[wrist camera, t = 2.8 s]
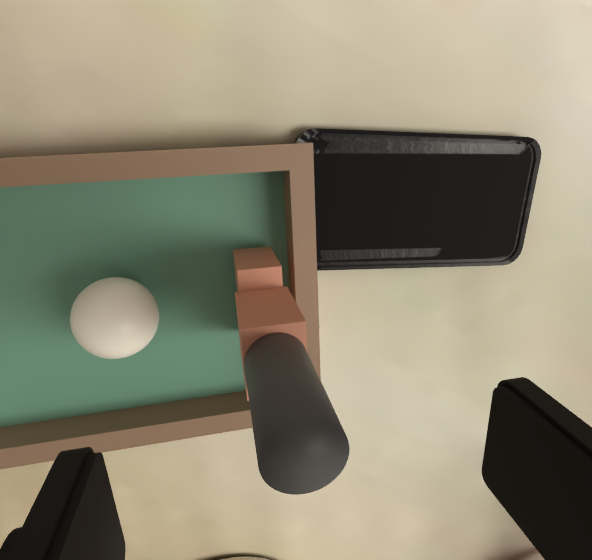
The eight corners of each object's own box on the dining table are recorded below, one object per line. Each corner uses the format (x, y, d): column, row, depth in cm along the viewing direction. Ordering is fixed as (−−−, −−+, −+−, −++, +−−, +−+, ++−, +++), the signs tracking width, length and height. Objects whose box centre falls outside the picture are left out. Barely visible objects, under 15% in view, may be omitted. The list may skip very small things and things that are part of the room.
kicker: (279, 329, 24) (349, 521, 11) (237, 334, 23) (265, 539, 11) (273, 245, 22) (349, 365, 10) (229, 249, 22) (250, 379, 9)
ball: (168, 332, 23) (159, 368, 19) (92, 341, 22) (68, 380, 18) (157, 263, 21) (145, 287, 18) (76, 271, 21) (47, 298, 17)
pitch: (310, 388, 27) (330, 438, 22) (-109, 452, 23) (-192, 530, 18) (300, 143, 22) (324, 142, 17) (-235, 169, 18) (-393, 176, 13)
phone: (295, 127, 21) (545, 137, 24) (291, 128, 22) (531, 138, 25) (291, 273, 23) (519, 266, 26) (288, 267, 24) (507, 261, 27)
